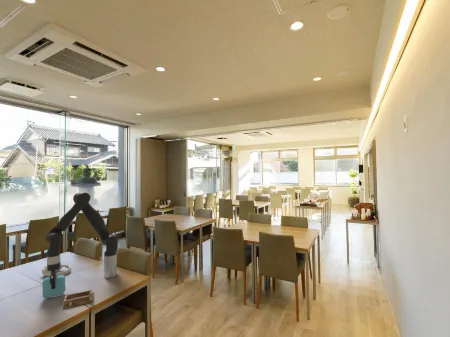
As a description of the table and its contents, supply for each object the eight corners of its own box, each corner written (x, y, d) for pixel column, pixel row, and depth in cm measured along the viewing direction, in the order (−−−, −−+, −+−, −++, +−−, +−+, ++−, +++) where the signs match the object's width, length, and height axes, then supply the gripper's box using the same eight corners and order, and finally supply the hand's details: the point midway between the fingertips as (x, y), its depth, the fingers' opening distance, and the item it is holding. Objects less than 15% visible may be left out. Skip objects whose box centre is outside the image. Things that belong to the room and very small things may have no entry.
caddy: (66, 298, 159) (66, 289, 159) (93, 292, 166) (93, 284, 166) (62, 309, 147) (62, 299, 147) (92, 302, 154) (92, 293, 154)
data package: (65, 291, 166) (65, 274, 166) (63, 294, 161) (63, 277, 161) (44, 295, 161) (44, 277, 161) (42, 298, 157) (42, 280, 157)
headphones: (35, 277, 191) (56, 282, 187) (36, 267, 191) (57, 273, 187) (56, 268, 209) (75, 272, 205) (57, 259, 209) (76, 264, 205)
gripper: (58, 264, 157) (58, 290, 156) (62, 257, 169) (62, 281, 169) (44, 267, 153) (44, 293, 153) (49, 259, 166) (49, 283, 166)
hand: (54, 287), depth 161 cm, fingers closed on data package, 4 cm apart
